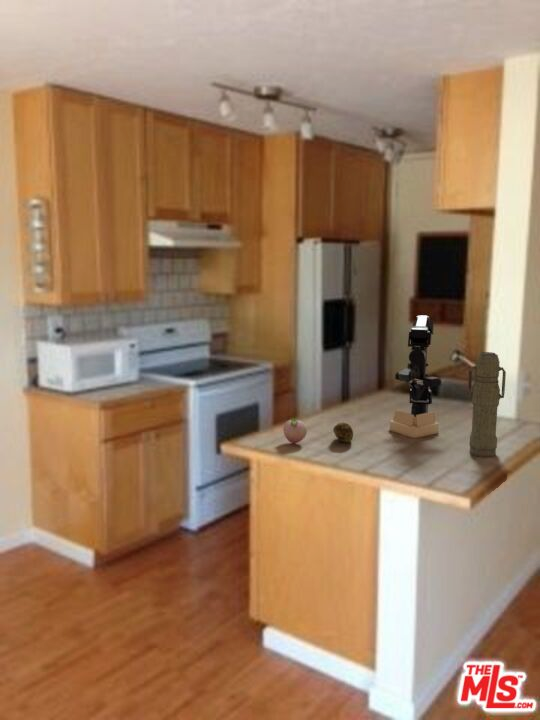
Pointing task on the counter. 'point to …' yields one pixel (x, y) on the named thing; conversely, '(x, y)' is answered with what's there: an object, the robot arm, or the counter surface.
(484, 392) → the thermos
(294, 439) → the decorative fruit
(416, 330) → the robot arm
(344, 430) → the potato
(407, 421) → the far flap
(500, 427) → the counter surface
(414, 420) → the carton
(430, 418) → the left flap
